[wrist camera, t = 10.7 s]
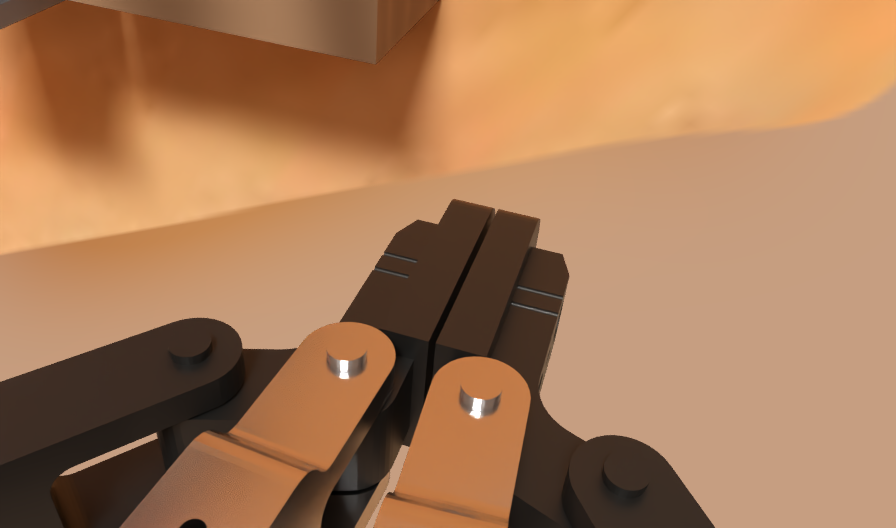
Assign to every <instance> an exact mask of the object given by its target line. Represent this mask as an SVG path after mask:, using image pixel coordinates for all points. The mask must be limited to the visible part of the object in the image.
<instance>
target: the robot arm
mask: <svg viewBox="0 0 896 528" xmlns="http://www.w3.org/2000/svg"><path fill="white" fill-rule="evenodd" d="M539 226H540V219H538V218H534V217H530V216H526V215H521V214H517V213H513V212H508V211H504V210H500V209H499V210H498V211H497V213H496V215H495V209H494V208H491V207H486V206H482V205H478V204H473V203H469V202H465V201H460V200H456V199H453V200H452V201H451V203H450V205H449V206H448V208H447V210H446V211H445V213H444V215H443V217H442V219H441V220H440V222H439V224H433V223H429V222H425V221H421V220H417V221H415V222H414V223H412V224H410V225H409V226H407V227H405V228H404V229H402V230H400V231H399V232H397V233H396V234H395V236H394V237H393V239H392V241H391V243H390V244H389V245H388V247H387V249H386V250H385V252H384V255H382V256H381V258H380V259H379V261H378V263H377V264H376V266H375V269H374V270H373V271H372V272H371V274H370V275H369V277H368V278H367V280H366V281H365V283H364V285H363V286H362V288H361V289H360V291H359V292H358V294H357V296H356V297H355V299H354V300H353V302H352V303H351V305H350V307H349V308H348V310H347V311H346V313H345V315H344V316H343V318H342V319H341V321H340V322H339V323H334V324H329V325H326V326H324V327H321V328H319V329H317V330H316V331H314V332H312V333H311V334H310V335H308V336H307V338H306V339H305V340H304V341H303V342H302V343H301V345H300V346H299V347H298V348H294V349H283V350H274V349H269V350H268V349H243V348H242V342H241V338H240V337H239V335H238V333H237V332H236V331H235V330H234V329H233V328H232V327H231V326H229V325H228V324H225V323H224V322H221V321H218V320H215V319H209V318H190V319H184V320H180V321H176V322H173V323H170V324H167V325H164V326H161V327H159V328H155V329H153V330H150V331H147V332H144V333H141V334H138V335H135V336H132V337H129V338H126V339H124V340H121V341H118V342H115V343H112V344H109V345H106V346H103V347H100V348H97V349H95V350H92V351H89V352H86V353H83V354H80V355H77V356H74V357H71V358H69V359H65V360H63V361H60V362H57V363H54V364H51V365H48V366H45V367H42V368H40V369H36V370H34V371H31V372H28V373H25V374H22V375H19V376H16V377H14V378H11V379H7V380H5V381H2V382H0V528H365V527H366V525H367V523H368V521H369V520H370V518H371V516H372V514H373V512H374V510H375V509H376V507H377V505H378V503H379V501H380V499H381V498H382V496H383V493H384V492H385V490H386V488H387V486H388V483H389V478H390V469H391V468H392V465H393V463H394V461H395V459H396V457H397V454H398V452H399V450H400V448H401V445H406V446H408V447H410V448H409V451H408V454H407V457H406V459H405V462H404V465H403V468H402V472H401V474H400V477H399V480H398V483H397V486H396V489H395V491H394V492H393V493H391V492H389V493H388V494H387V495H386V497H385V498H384V501H383V503H382V505H381V508H380V510H379V513H378V516H377V519H376V522H375V525H374V527H373V528H715V527H714V525H713V524H712V523H711V521H710V520H709V518H708V517H707V516H706V514H705V513H704V511H703V510H702V509H701V507H700V506H699V504H698V503H697V502H696V500H695V499H694V498H693V496H692V495H691V493H690V492H689V491H688V489H687V488H686V487H685V485H684V484H683V482H682V481H681V479H680V478H679V477H678V475H677V474H676V472H675V471H674V470H673V468H672V467H671V466H670V465H669V463H668V462H667V461H666V459H665V458H664V457H663V456H661V455H660V454H659V453H658V452H657V451H655V450H654V449H653V448H651V447H650V446H648V445H646V444H644V443H642V442H640V441H637V440H635V439H632V438H628V437H623V436H616V435H606V436H600V437H596V438H593V439H590V440H588V441H584V440H582V439H581V438H579V437H577V436H575V435H574V434H572V433H571V432H569V431H567V430H566V429H564V428H563V427H562V426H560V425H559V424H558V423H557V422H556V421H555V420H553V418H552V417H551V416H550V415H549V414H548V412H547V411H546V409H545V408H544V406H543V404H542V401H541V399H540V395H539V394H540V391H541V387H542V384H543V380H544V377H545V373H546V370H547V366H548V362H549V359H550V355H551V352H552V348H553V344H554V341H555V337H556V332H557V328H558V324H559V319H560V315H561V310H562V306H563V302H564V297H565V292H566V288H567V284H568V280H569V273H568V270H567V267H566V264H565V261H564V257H563V255H562V254H559V253H555V252H550V251H546V250H542V249H538V248H536V243H537V238H538V233H539ZM153 433H157V437H158V439H155V440H153V441H150V442H148V443H146V444H143V445H141V446H138V447H136V448H134V449H131V450H129V451H126V452H124V453H122V454H119V455H117V456H114V457H112V458H110V459H107V460H105V461H102V462H100V463H98V464H95V465H93V466H90V467H88V468H86V469H83V470H81V471H78V472H76V473H73V474H70V475H65V476H59V475H60V474H62V473H63V472H64V471H66V470H68V469H69V468H71V467H74V466H76V465H78V464H81V463H83V462H85V461H88V460H90V459H93V458H95V457H98V456H100V455H102V454H105V453H107V452H110V451H112V450H115V449H117V448H119V447H122V446H124V445H127V444H129V443H132V442H134V441H136V440H139V439H141V438H144V437H146V436H149V435H151V434H153Z"/></svg>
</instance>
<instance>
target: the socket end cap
mask: <svg viewBox="0 0 896 528" xmlns="http://www.w3.org/2000/svg"><path fill="white" fill-rule="evenodd" d="M62 1H65V0H0V29H2V28H5V27H7V26H9V25H11V24H13V23H16V22H18V21H20V20H22V19H25V18H27V17H29V16H31V15H34V14H36V13H38V12H40V11H42V10H45V9H47V8H49V7H51V6H54V5H56V4H58V3H60V2H62Z"/></svg>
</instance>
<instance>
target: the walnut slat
mask: <svg viewBox="0 0 896 528" xmlns="http://www.w3.org/2000/svg"><path fill="white" fill-rule="evenodd" d="M70 1H75V2H80V3H84V4H89V5H94V6H99V7H103V8H108V9H113V10H118V11H123V12H127V13H132V14H137V15H142V16H146V17H151V18H156V19H161V20H166V21H170V22H175V23H180V24H185V25H189V26H194V27H199V28H204V29H209V30H213V31H218V32H223V33H228V34H232V35H237V36H242V37H247V38H252V39H256V40H261V41H266V42H271V43H275V44H280V45H285V46H290V47H295V48H299V49H304V50H309V51H314V52H318V53H323V54H328V55H333V56H338V57H342V58H347V59H352V60H357V61H361V62H366V63H371V64H377V63H378V62H379V61H380V60H381V59H382V58H383V57H384V56H385V55H386V54H387V53H388V52H389V51H390V50H391V49H392V48H393V47H394V46H395V45H396V43H397V42H398V41H399V40H400V39H401V38H402V37H403V36H404V35H405V34H406V33H407V32H408V31H409V30H410V29H411V28H412V27H413V26H414V25H415V24H416V23H417V22H418V21H419V20H420V19H421V18H422V17H423V16H424V15H425V14H426V13H427V12H428V11H429V10H430V9H431V8H432V7H433V6H434V5H435V4H436V3H437V2H438V1H439V0H70Z"/></svg>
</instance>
